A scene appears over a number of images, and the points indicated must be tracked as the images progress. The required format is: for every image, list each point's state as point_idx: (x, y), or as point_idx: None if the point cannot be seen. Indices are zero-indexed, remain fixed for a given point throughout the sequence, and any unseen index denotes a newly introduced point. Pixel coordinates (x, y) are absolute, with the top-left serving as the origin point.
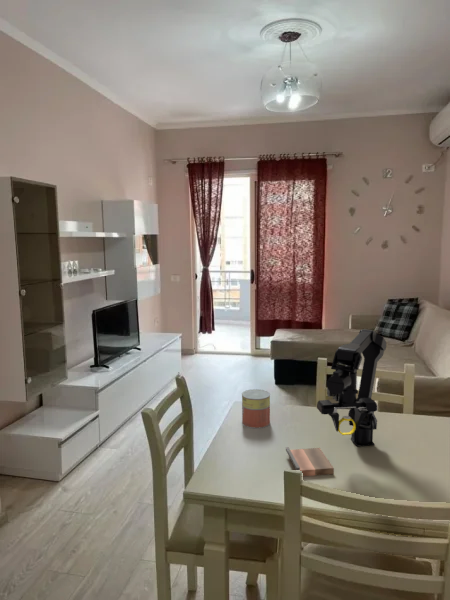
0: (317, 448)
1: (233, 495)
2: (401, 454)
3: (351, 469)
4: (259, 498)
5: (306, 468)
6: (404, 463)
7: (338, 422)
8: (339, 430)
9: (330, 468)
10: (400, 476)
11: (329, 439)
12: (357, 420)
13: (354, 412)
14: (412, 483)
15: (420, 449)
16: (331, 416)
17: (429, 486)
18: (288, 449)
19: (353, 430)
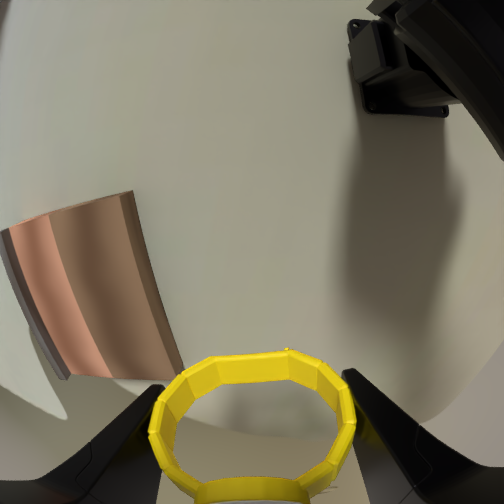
0: (107, 206)
1: (4, 385)
2: (497, 216)
3: (261, 338)
4: (39, 405)
5: (85, 368)
6: (472, 285)
7: (152, 501)
8: (181, 414)
9: (165, 378)
10: (411, 365)
11: (218, 20)
12: (371, 484)
13: (495, 53)
14: (416, 390)
15: None
16: (62, 476)
17: (441, 392)
18: (3, 253)
19: (320, 393)
